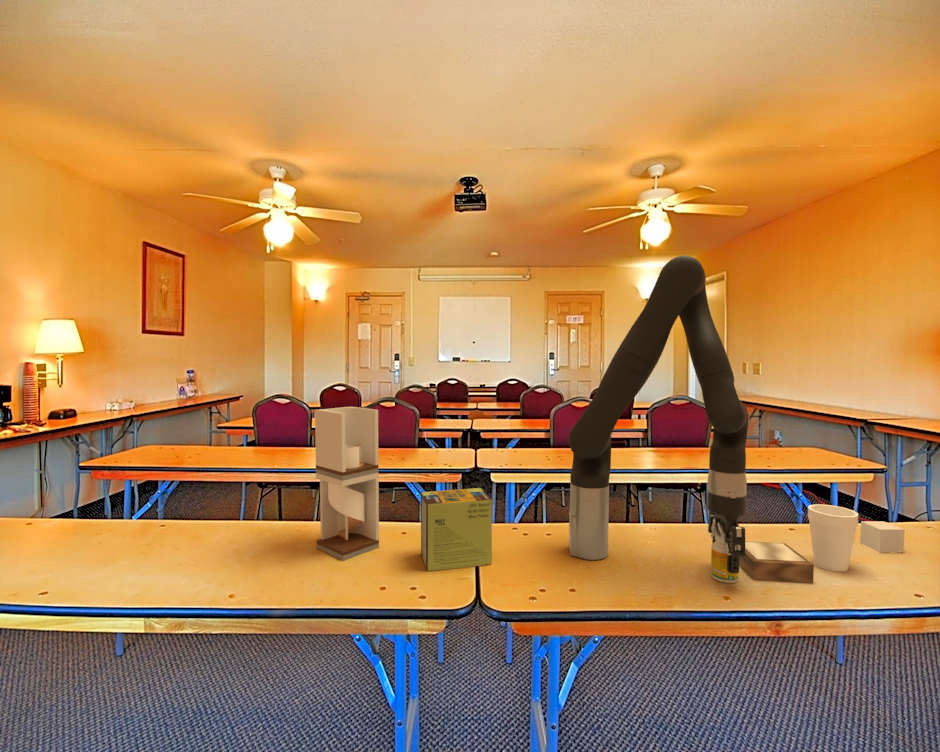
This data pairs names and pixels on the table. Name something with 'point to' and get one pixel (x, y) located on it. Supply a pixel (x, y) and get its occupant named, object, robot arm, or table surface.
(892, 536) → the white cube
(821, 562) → the foam cup
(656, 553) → the table surface
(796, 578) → the base slab
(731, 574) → the supplement bottle
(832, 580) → the table surface
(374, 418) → the beige cubby shelf tower
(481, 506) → the protein box
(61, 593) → the table surface
